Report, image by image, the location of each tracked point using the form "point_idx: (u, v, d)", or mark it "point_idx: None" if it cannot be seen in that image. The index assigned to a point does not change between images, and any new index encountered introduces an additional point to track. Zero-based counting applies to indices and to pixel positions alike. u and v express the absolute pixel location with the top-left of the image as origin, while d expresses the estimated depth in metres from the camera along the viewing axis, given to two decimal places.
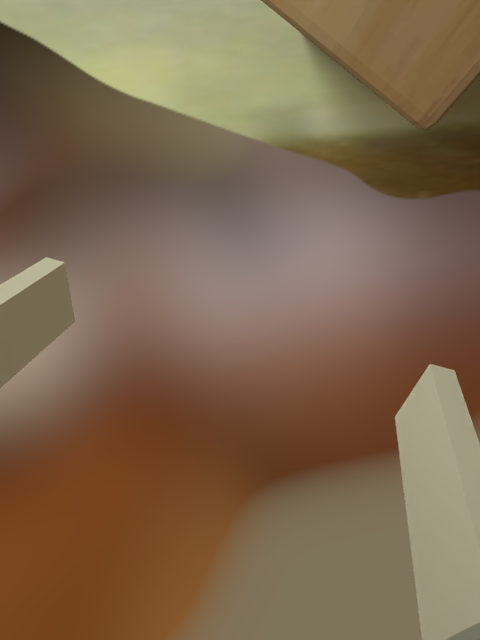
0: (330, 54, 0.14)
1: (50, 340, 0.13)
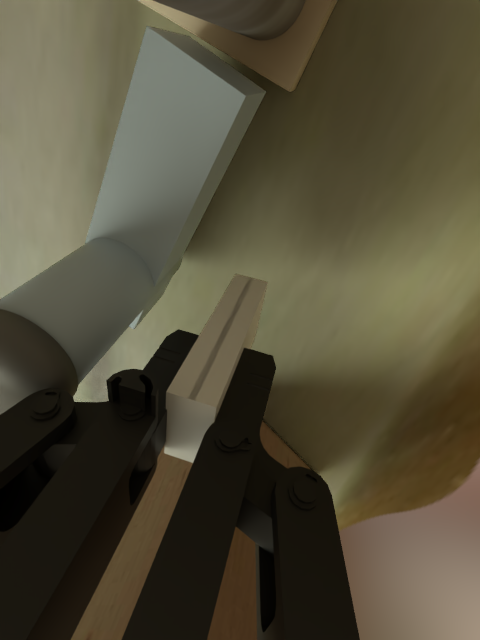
0: None
1: None
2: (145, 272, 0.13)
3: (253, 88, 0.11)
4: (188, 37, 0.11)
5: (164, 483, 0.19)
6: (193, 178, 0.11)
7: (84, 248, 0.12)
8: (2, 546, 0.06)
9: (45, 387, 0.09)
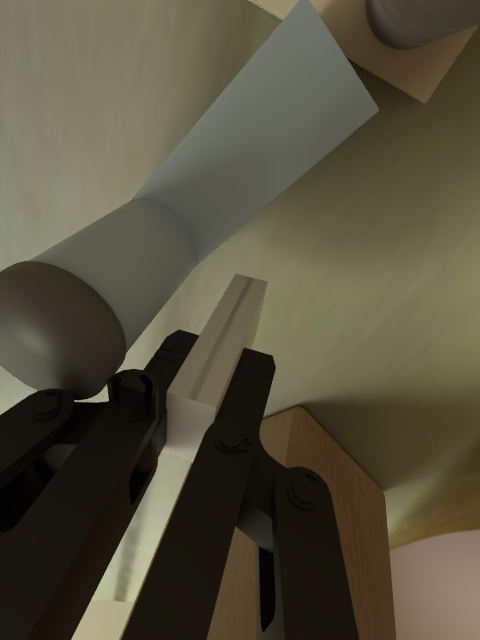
0: None
1: None
2: (192, 251, 0.12)
3: None
4: None
5: None
6: (285, 173, 0.10)
7: (137, 208, 0.11)
8: (2, 546, 0.06)
9: (96, 368, 0.08)
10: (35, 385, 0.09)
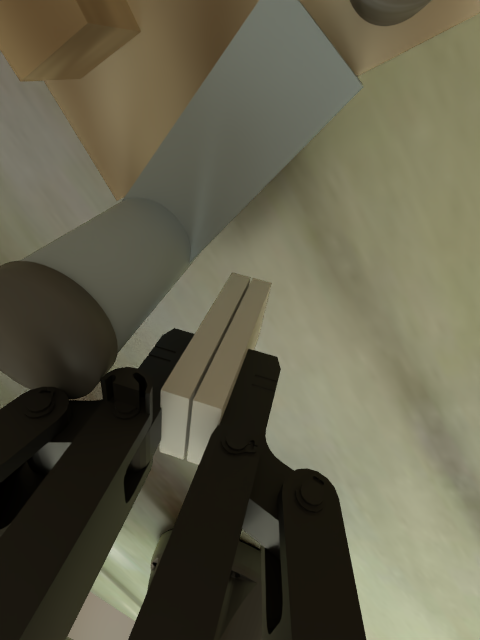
0: None
1: None
2: (186, 247, 0.12)
3: (356, 76, 0.10)
4: None
5: None
6: (273, 160, 0.10)
7: (127, 207, 0.11)
8: None
9: (86, 365, 0.08)
10: (31, 386, 0.09)
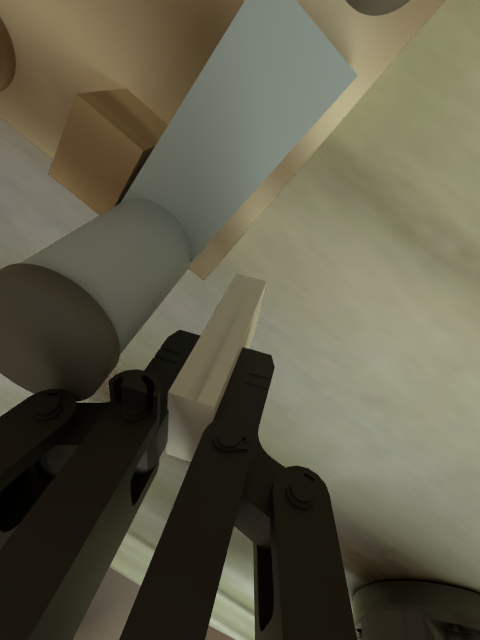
0: None
1: None
2: (186, 246, 0.12)
3: None
4: None
5: None
6: (269, 154, 0.10)
7: (126, 208, 0.11)
8: (4, 546, 0.06)
9: (89, 365, 0.08)
10: (35, 389, 0.09)
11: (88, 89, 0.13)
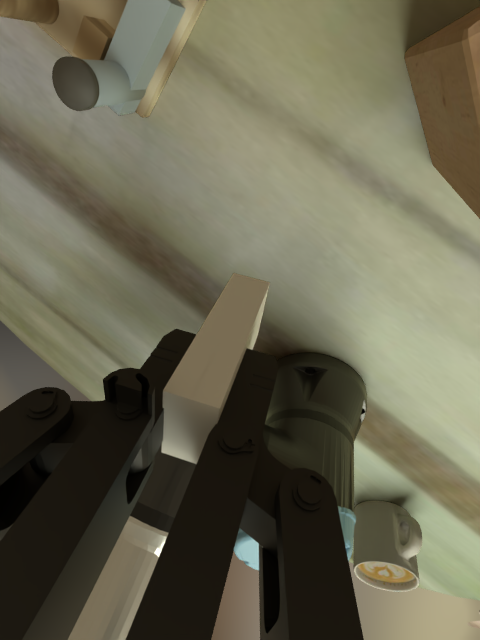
0: None
1: None
2: (127, 79, 0.30)
3: (178, 4, 0.28)
4: None
5: (422, 88, 0.25)
6: (151, 35, 0.29)
7: (103, 60, 0.30)
8: None
9: (89, 87, 0.26)
10: (73, 107, 0.28)
11: None
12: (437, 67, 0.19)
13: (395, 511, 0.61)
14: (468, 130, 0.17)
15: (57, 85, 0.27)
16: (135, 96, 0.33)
